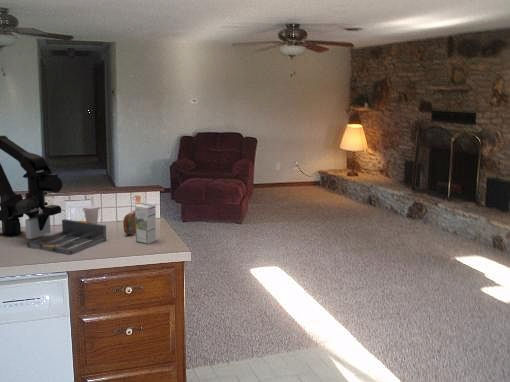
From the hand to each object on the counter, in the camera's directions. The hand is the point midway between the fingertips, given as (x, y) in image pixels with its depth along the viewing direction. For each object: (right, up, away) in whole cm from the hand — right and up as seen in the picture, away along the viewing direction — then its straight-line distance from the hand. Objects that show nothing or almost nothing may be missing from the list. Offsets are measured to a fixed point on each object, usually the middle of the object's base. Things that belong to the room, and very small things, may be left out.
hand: (38, 229), depth 210 cm
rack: (+13, -5, -5) cm, 14 cm away
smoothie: (+16, -1, +15) cm, 22 cm away
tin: (+34, -2, +14) cm, 36 cm away
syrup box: (+41, -5, +1) cm, 41 cm away
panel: (0, -2, 0) cm, 2 cm away
